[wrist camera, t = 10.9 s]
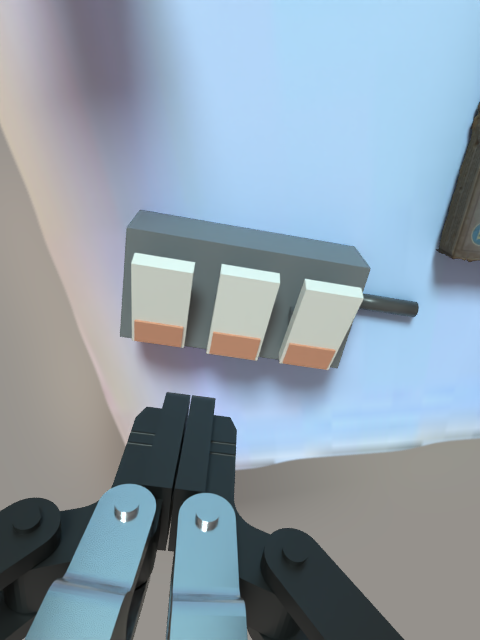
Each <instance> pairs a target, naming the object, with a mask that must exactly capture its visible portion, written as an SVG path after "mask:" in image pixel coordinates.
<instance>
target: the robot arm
mask: <svg viewBox="0 0 480 640" xmlns="http://www.w3.org/2000/svg"><path fill="white" fill-rule="evenodd" d="M189 404H190V395H185V394H177V393H170V392H167V393H166V396H165V400H164V404H163V407H162V409H160V408H153V407H146V408H145V409H144V410H143V411H142V412H141V413H140V414H139V415H138V416H137V417H136V418H135V421H134V424H133V427H132V430H131V433H130V436H129V439H128V442H127V445H126V447H125V450H124V454H123V456H122V459H121V462H120V465H119V468H118V471H117V474H116V477H115V480H114V483H113V485H112V488H111V489H110V490H108V491H107V492H106V493H105V494H104V495H103V496H102V497H101V498H100V500H99V501H97V502H96V503H94V504H92V505H89V506H86V507H82V508H77V509H71V510H65V511H59V509H58V507H57V506H56V505H55V504H54V503H53V502H51V501H49V500H47V499H43V498H28V499H24V500H20V501H18V502H16V503H14V504H12V505H10V506H8V507H6V508H5V509H3V510H1V511H0V640H22V639H23V638H25V637H26V638H25V640H133V638H134V634H135V631H136V627H137V624H138V620H139V617H140V613H141V610H142V606H143V603H144V599H145V595H146V592H147V588H148V584H149V581H150V575H151V573H152V570H153V567H154V562H155V557H156V552H157V550H164V551H165V550H166V544H167V539H168V534H169V528H170V523H171V528H170V538H169V547H168V551H174V557H173V566H172V574H171V582H170V594H169V605H168V617H167V630H166V640H248V639H247V629H248V632H249V634H250V636H251V638H252V640H404V639H403V638H402V637H401V636H400V634H399V633H398V632H397V631H396V630H395V629H394V628H393V627H392V626H391V624H390V623H389V622H388V621H387V620H386V619H385V618H384V617H383V616H382V615H381V613H379V611H378V610H377V609H376V608H375V607H374V606H373V605H372V603H371V602H370V601H369V600H368V599H367V598H366V597H365V596H364V595H363V593H362V592H361V591H360V590H359V589H358V588H357V587H356V586H355V585H354V584H353V582H352V581H351V580H350V579H349V578H348V577H347V576H346V575H345V573H344V572H343V571H342V570H341V569H340V568H339V567H338V566H337V565H336V564H335V562H334V561H333V560H332V559H331V558H330V557H329V556H328V555H327V554H326V552H325V551H324V550H323V549H322V548H321V547H320V546H319V545H318V543H317V542H316V541H315V540H314V539H313V538H312V537H310V536H309V535H308V534H306V533H304V532H303V531H300V530H297V529H293V528H283V529H279V530H277V531H275V532H273V533H272V534H271V535H270V534H268V533H265V532H263V531H261V530H259V529H256V528H254V527H252V526H251V525H249V524H247V523H246V522H245V521H244V520H243V519H242V517H241V516H240V515H239V514H238V512H237V510H236V507H235V504H234V483H235V459H236V457H235V456H236V434H237V430H236V428H235V426H234V424H233V422H232V420H231V418H230V417H224V416H216V415H214V407H215V398H209V397H201V396H194V395H192V399H191V404H190V410H189ZM188 413H189V415H188ZM171 517H172V519H171Z"/></svg>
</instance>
